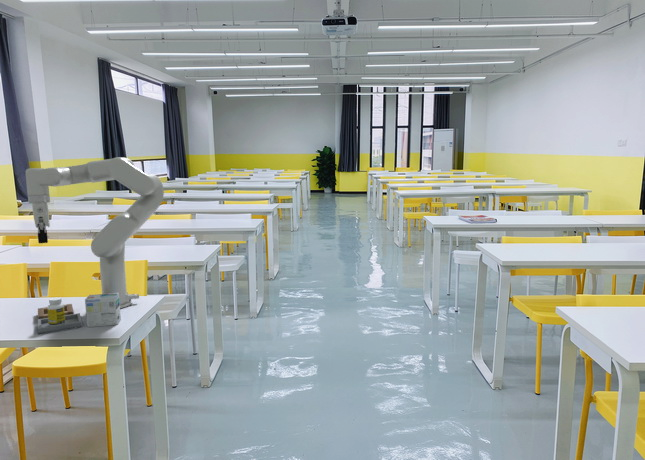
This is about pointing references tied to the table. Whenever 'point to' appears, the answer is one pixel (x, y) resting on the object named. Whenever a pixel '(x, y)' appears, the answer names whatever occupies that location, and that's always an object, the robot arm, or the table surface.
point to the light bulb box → (102, 309)
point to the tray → (70, 323)
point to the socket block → (44, 312)
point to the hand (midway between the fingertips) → (43, 241)
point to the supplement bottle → (56, 312)
